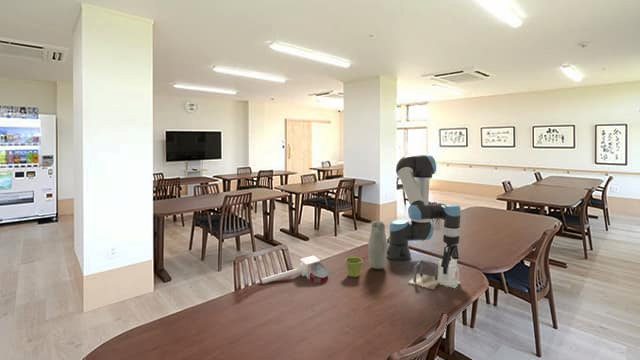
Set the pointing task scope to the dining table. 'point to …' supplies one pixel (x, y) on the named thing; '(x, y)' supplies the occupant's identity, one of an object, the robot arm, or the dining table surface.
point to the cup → (451, 276)
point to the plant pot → (354, 266)
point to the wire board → (424, 281)
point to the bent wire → (422, 269)
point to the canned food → (318, 273)
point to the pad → (452, 285)
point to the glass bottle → (377, 245)
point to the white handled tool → (294, 270)
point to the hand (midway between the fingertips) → (449, 275)
